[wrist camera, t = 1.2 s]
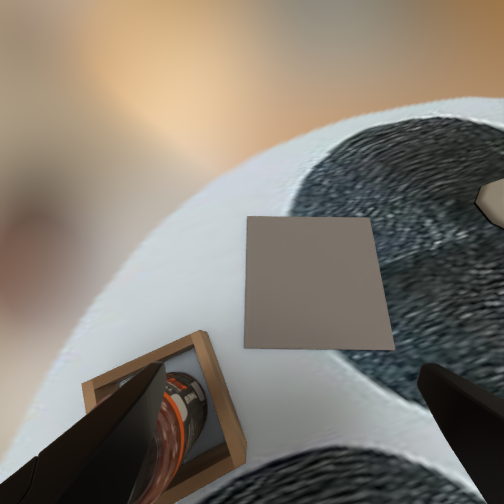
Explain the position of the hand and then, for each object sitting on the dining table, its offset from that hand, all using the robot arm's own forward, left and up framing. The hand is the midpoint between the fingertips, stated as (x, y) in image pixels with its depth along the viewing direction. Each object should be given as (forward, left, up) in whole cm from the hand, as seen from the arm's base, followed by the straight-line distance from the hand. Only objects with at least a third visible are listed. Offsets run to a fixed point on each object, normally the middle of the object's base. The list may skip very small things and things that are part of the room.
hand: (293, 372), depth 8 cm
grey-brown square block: (+8, -5, -15) cm, 17 cm away
